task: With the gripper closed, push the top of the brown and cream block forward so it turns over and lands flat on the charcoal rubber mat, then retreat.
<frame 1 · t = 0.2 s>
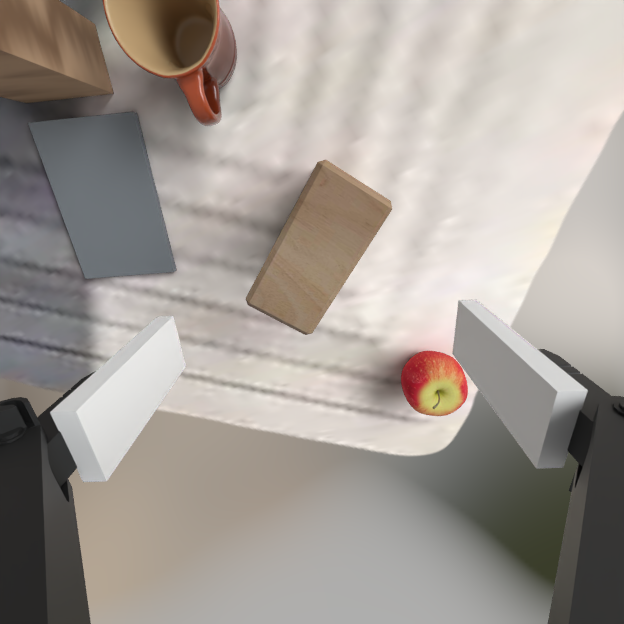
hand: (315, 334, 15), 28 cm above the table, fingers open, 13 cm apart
decorative block: (316, 219, 40), on the table
brown and cream block: (59, 65, 35), on the table
mat: (110, 202, 40), on the table
mug: (211, 72, 35), on the table
apple: (423, 364, 48), on the table
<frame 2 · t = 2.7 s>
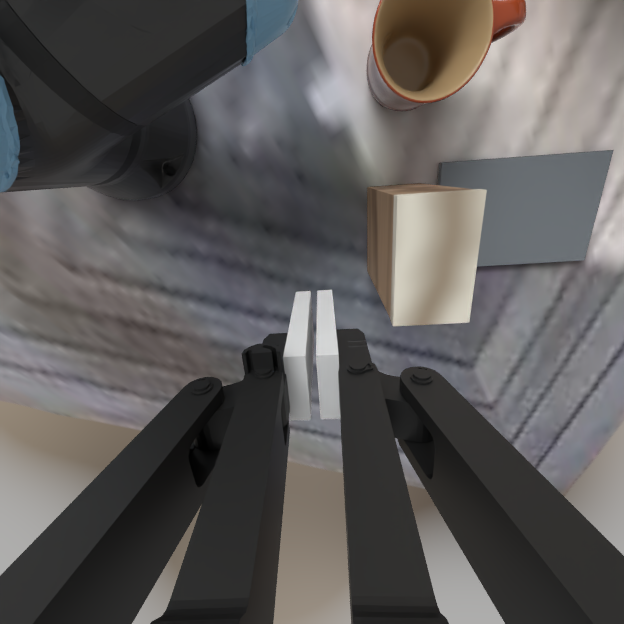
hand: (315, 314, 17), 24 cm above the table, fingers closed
brown and cream block: (392, 229, 39), on the table
mat: (513, 213, 38), on the table
mug: (416, 68, 33), on the table
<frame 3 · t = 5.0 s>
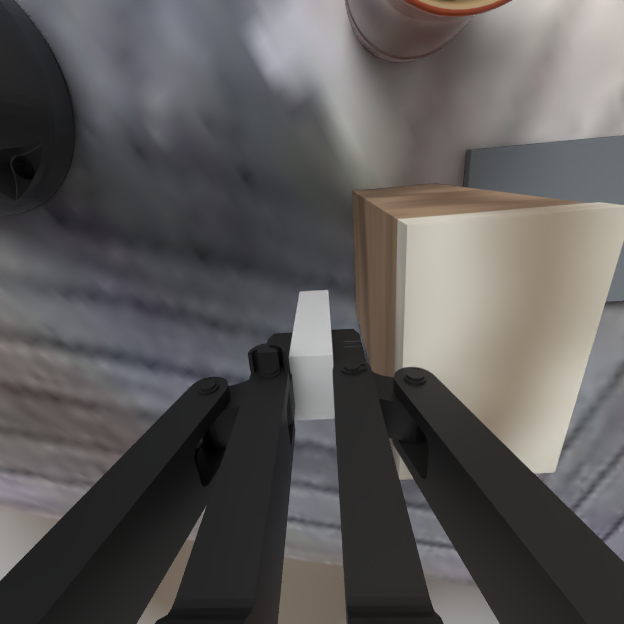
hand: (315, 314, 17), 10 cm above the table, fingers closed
brown and cream block: (392, 254, 26), on the table, touching gripper
mat: (579, 227, 25), on the table
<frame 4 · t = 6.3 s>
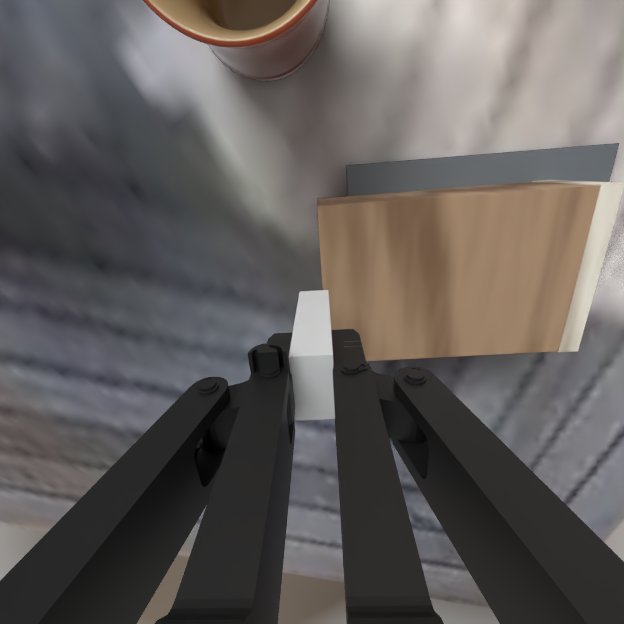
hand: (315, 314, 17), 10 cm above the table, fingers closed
brown and cream block: (322, 277, 23), point 4 cm above the table, tilted 90°, touching mat
mat: (465, 241, 25), on the table
mug: (292, 8, 20), on the table
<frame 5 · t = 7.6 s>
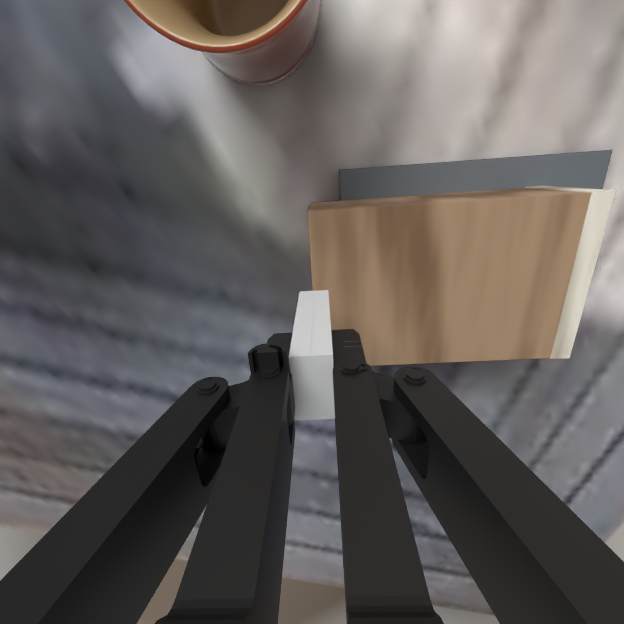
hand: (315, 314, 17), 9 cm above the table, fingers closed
brown and cream block: (314, 282, 23), point 4 cm above the table, tilted 90°, touching mat
mat: (459, 246, 25), on the table
mug: (284, 13, 20), on the table
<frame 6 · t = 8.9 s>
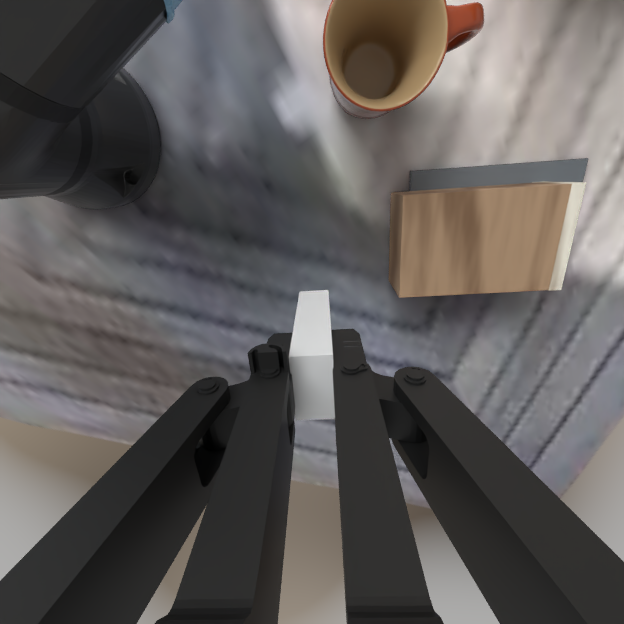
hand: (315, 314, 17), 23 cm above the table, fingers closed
brown and cream block: (394, 243, 35), point 4 cm above the table, tilted 90°, touching mat
mat: (487, 222, 37), on the table
mug: (382, 74, 32), on the table
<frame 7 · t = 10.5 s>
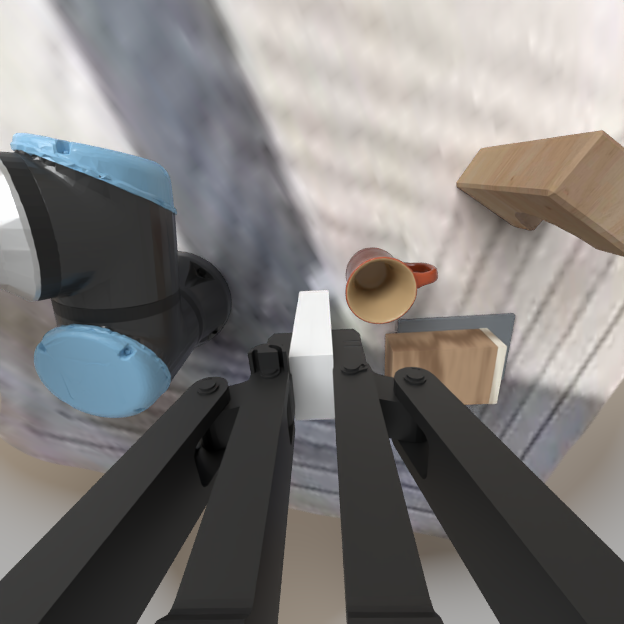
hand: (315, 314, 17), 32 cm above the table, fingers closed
decorative block: (497, 188, 45), on the table
brown and cream block: (388, 370, 52), point 4 cm above the table, tilted 90°, touching mat
mat: (451, 349, 55), on the table
mug: (379, 266, 50), on the table
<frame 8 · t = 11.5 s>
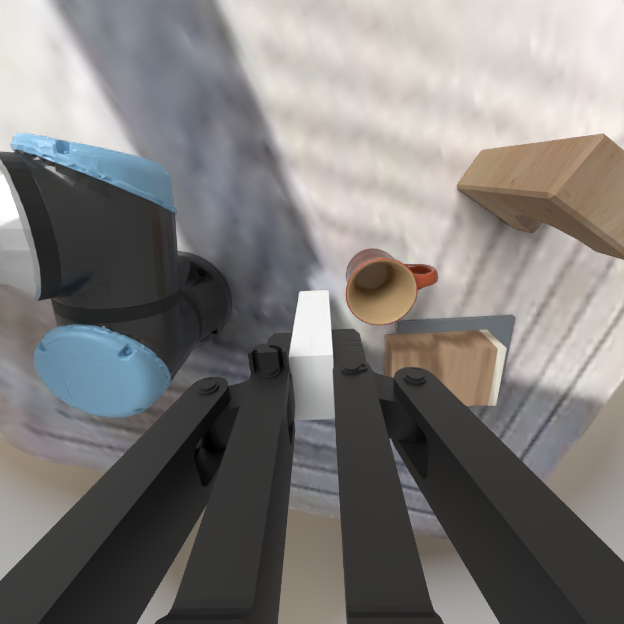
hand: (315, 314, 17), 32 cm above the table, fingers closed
decorative block: (497, 190, 45), on the table
brown and cream block: (388, 371, 52), point 4 cm above the table, tilted 90°, touching mat
mat: (451, 350, 55), on the table
mug: (380, 267, 50), on the table
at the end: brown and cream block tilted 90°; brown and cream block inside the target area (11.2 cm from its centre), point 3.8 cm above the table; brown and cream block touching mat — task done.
